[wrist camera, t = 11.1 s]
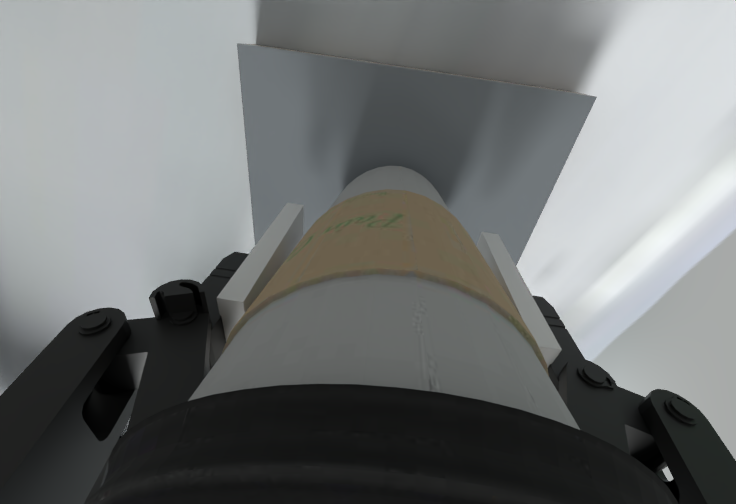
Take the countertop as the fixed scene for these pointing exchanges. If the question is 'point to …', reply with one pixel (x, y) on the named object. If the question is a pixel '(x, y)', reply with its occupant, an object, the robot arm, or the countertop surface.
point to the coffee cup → (377, 383)
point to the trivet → (402, 137)
